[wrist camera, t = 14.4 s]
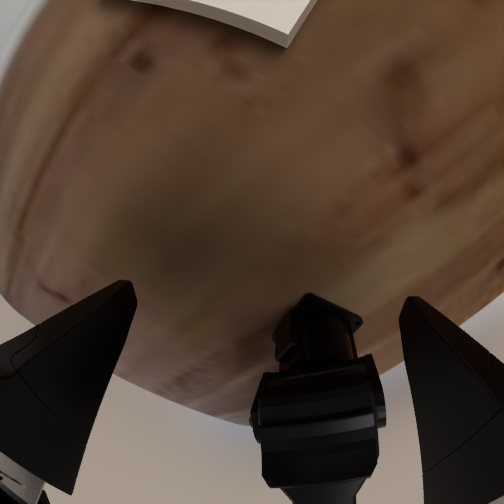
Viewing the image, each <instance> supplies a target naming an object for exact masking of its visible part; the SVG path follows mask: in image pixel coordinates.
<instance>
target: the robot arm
mask: <svg viewBox="0 0 504 504" xmlns="http://www.w3.org/2000/svg"><path fill="white" fill-rule="evenodd" d="M308 299H312V300H310V301H309V300H308ZM136 308H137V298H136V295H135V291H134V287H133V284H132V282H131V281H129V280H118V281H116V282H114V283H113V284H111V285H109V286H107V287H105V288H103V289H101V290H99V291H98V292H96V293H94V294H92V295H90V296H88V297H87V298H85V299H83V300H81V301H79V302H77V303H76V304H74V305H72V306H70V307H68V308H67V309H65V310H63V311H61V312H59V313H58V314H56V315H54V316H52V317H50V318H49V319H47V320H45V321H43V322H42V323H41V324H38V325H36V326H35V327H33V328H31V329H29V330H28V331H26V332H24V333H22V334H20V335H19V336H17V337H15V338H13V339H11V340H9V341H7V342H5V343H3V344H1V345H0V504H50V502H49V500H48V497H47V495H46V492H45V491H44V490H43V487H44V485H45V482H47V483H48V484H50V485H52V486H54V487H56V488H57V489H59V490H61V491H63V492H65V493H67V494H69V495H72V493H73V490H74V486H75V482H76V478H77V475H78V471H79V468H80V465H81V462H82V458H83V455H84V452H85V449H86V445H87V442H88V439H89V436H90V433H91V430H92V427H93V424H94V421H95V418H96V416H97V412H98V410H99V407H100V404H101V402H102V399H103V397H104V394H105V391H106V389H107V386H108V383H109V381H110V378H111V376H112V374H113V371H114V369H115V366H116V364H117V361H118V359H119V357H120V354H121V352H122V349H123V347H124V344H125V342H126V339H127V336H128V333H129V329H130V326H131V323H132V320H133V317H134V314H135V311H136ZM358 321H359V322H358ZM362 324H363V321H362V318H361V317H359V316H357V315H355V314H353V313H351V312H349V311H347V310H345V309H342V308H340V307H338V306H336V305H334V304H332V303H330V302H328V301H326V300H324V299H321V298H319V297H317V296H315V295H313V294H307V295H305V296H304V297H303V299H302V300H301V301H300V302H299V304H298V305H297V306H296V307H295V309H294V310H291V311H290V312H289V313H288V314H287V315H286V316H285V318H284V319H283V320H282V321H281V323H280V324H279V325H278V326H277V330H276V332H275V333H274V334H273V336H272V340H273V341H274V342H276V348H275V360H276V362H279V372H274V373H271V372H265V373H263V376H262V379H261V381H260V384H259V387H258V390H257V393H256V396H255V399H254V402H253V405H252V408H251V412H250V414H251V417H250V418H249V424H250V426H251V427H253V432H254V436H255V439H256V440H257V442H258V443H259V444H261V451H262V476H263V478H264V480H265V481H266V483H267V485H268V486H269V487H270V488H280V489H281V490H282V491H283V492H284V493H285V494H286V496H288V498H289V499H290V500H291V501H292V503H293V504H356V494H357V493H358V491H359V490H360V488H361V486H362V485H363V483H364V482H365V480H366V478H370V477H371V475H372V473H373V471H374V469H375V467H376V465H377V459H378V457H379V443H378V430H377V429H378V428H382V427H385V426H386V408H385V399H384V393H383V388H382V384H381V381H380V378H379V375H378V372H377V368H376V365H375V362H374V359H373V356H372V354H367V355H365V356H363V357H359V358H358V356H357V351H356V346H355V341H354V337H353V333H354V332H355V331H356V330H357V329H358V328H359V327H360V326H361V325H362ZM399 326H400V333H401V340H402V347H403V354H404V361H405V366H406V371H407V375H408V380H409V384H410V389H411V394H412V399H413V405H414V411H415V416H416V423H417V429H418V436H419V444H420V452H421V462H422V472H423V490H424V504H504V364H503V363H502V362H501V361H500V360H499V359H497V358H496V357H495V356H494V355H493V354H492V353H490V352H489V351H488V350H487V349H485V348H484V347H483V346H482V345H480V343H478V342H477V341H476V340H474V339H473V338H472V337H471V336H470V335H468V334H467V333H466V332H465V331H463V330H462V329H461V328H460V327H458V326H457V325H456V324H455V323H453V322H452V321H451V320H449V319H448V318H447V317H446V316H444V315H443V314H442V313H440V312H439V311H438V310H436V309H435V308H434V307H432V306H431V305H430V304H428V303H427V302H426V301H424V300H423V299H422V298H420V297H418V296H409V297H407V298H406V300H405V302H404V305H403V308H402V310H401V313H400V316H399Z"/></svg>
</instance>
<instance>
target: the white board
mask: <svg viewBox="0 0 504 504" xmlns="http://www.w3.org/2000/svg"><path fill="white" fill-rule="evenodd" d="M131 1H138V2H144V3H150V4H155V5H160V6H165V7H169V8H174V9H178V10H182V11H186V12H190V13H193V14H197V15H201V16H204V17H207V18H211V19H214V20H217V21H220V22H223V23H226V24H229V25H232V26H234V27H237V28H240V29H243V30H245V31H248V32H250V33H253V34H255V35H258V36H260V37H263V38H265V39H267V40H270V41H272V42H274V43H276V44H279V45H281V46H283V47H285V48H288V47H289V45H290V43H291V42H292V40H293V38H294V37H295V35H296V34H297V32H298V30H299V29H300V27H301V26H302V24H303V22H304V21H305V19H306V18H307V16H308V15H309V13H310V12H311V10H312V8H313V7H314V5H315V4H316V2H317V1H318V0H131Z"/></svg>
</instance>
